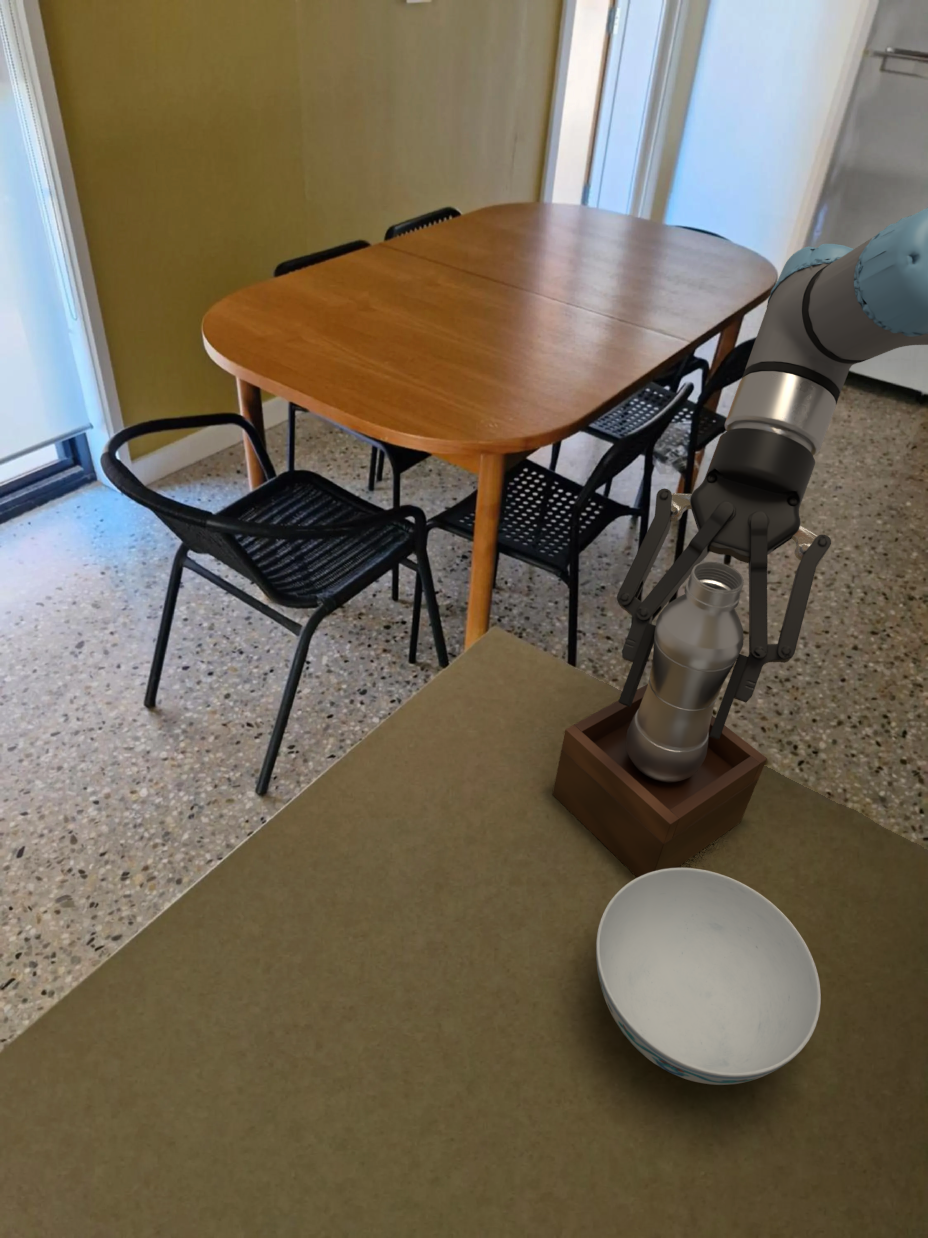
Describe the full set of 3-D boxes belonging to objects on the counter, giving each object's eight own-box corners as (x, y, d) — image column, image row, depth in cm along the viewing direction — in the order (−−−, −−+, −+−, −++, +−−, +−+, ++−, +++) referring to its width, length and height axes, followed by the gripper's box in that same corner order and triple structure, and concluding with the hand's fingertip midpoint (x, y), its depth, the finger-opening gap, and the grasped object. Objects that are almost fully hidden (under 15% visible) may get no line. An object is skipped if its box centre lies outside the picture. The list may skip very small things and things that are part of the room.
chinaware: (593, 1126, 59) (614, 1074, 54) (569, 922, 70) (584, 864, 65) (814, 1128, 60) (854, 1077, 55) (754, 927, 71) (782, 869, 66)
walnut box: (740, 822, 79) (767, 758, 74) (648, 889, 73) (670, 824, 68) (643, 739, 86) (661, 675, 81) (552, 794, 80) (565, 729, 75)
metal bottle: (683, 805, 73) (750, 617, 60) (608, 769, 75) (657, 581, 62) (709, 756, 77) (777, 571, 64) (638, 723, 80) (689, 539, 67)
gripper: (887, 493, 70) (791, 767, 69) (652, 429, 76) (558, 682, 75) (908, 462, 63) (801, 768, 62) (647, 394, 69) (543, 673, 68)
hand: (668, 720), depth 68 cm, fingers closed on metal bottle, 6 cm apart
